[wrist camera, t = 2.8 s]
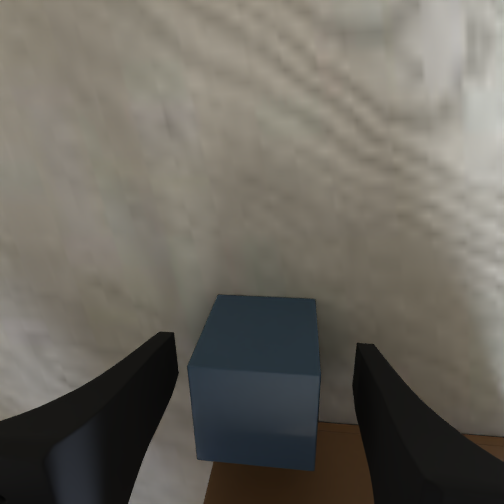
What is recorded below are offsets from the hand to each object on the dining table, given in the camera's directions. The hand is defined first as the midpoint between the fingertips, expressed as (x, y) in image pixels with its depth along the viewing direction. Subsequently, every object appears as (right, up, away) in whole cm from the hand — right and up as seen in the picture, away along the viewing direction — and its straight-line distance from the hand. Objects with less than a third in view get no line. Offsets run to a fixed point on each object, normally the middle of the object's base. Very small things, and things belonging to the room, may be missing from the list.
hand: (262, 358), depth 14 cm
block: (0, 0, +1) cm, 1 cm away
